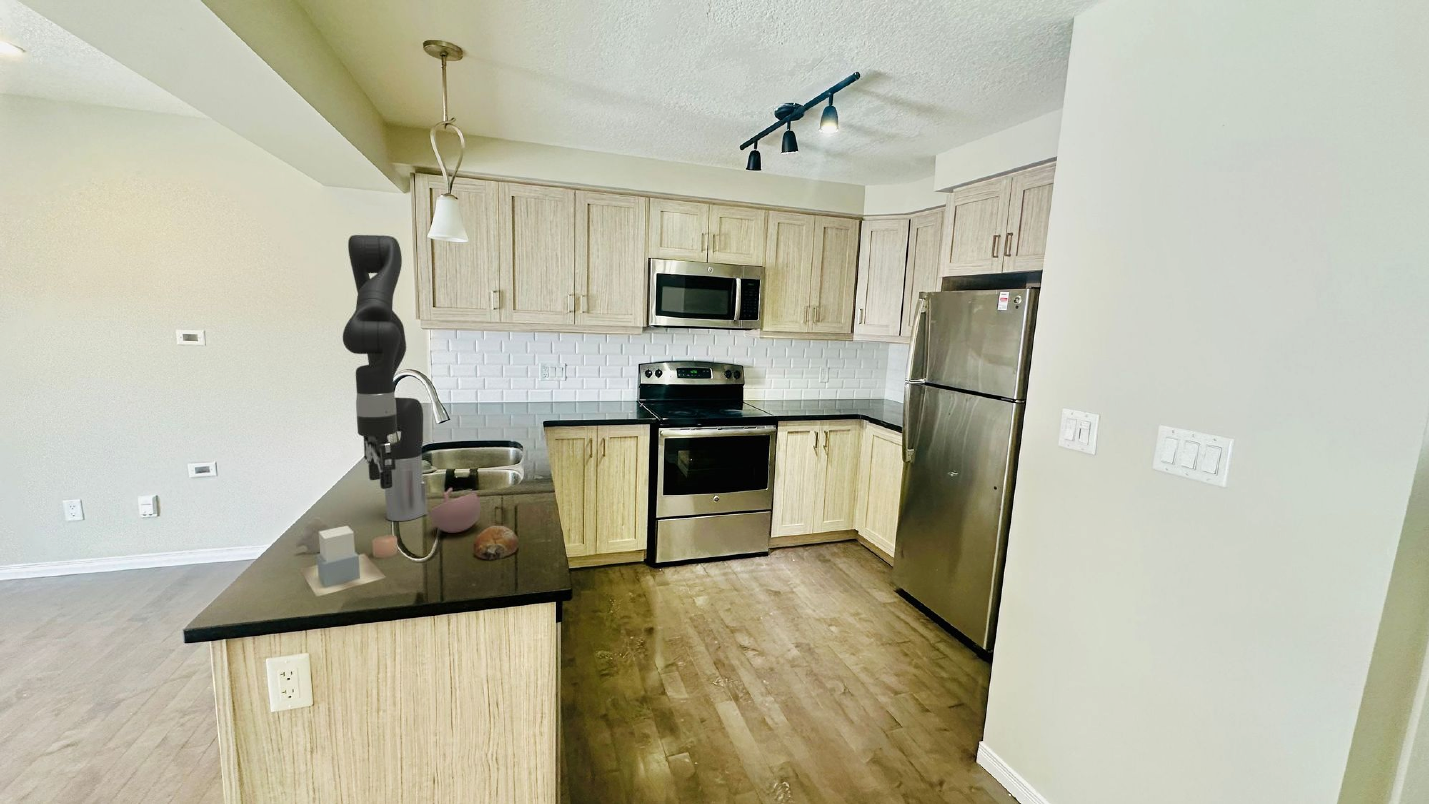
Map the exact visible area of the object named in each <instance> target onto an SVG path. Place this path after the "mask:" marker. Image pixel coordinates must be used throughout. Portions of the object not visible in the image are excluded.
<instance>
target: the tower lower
mask: <svg viewBox="0 0 1429 804" xmlns="http://www.w3.org/2000/svg"><path fill="white" fill-rule="evenodd" d="M358 555H359V554H358V553H357V552H356V551H355V556H352V557H347V558H343V559H339V560H335V561H331V562H327V563H326V562H325V560H324V559H323V558H322V556H321V555H320V553H319V554H316V560H317V565H318V575H319V579H320V580H321V582H322V583H323V585H324V586H325V588H327V587H331V586H334V585H338V584H342V583H345V582H349V581H353V580H357V579H360V569H359V556H358Z"/></svg>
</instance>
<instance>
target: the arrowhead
mask: <svg viewBox="0 0 1429 804" xmlns="http://www.w3.org/2000/svg"><path fill="white" fill-rule="evenodd" d="M329 529H331V527H330V526H329V525H328V524H327V523H326V522H324V521H323V520H322V519H321V518H320V517H319V516H314V517H312V518H311V519H310V520H309V521H308V522H307V523H306V524H305V525H304V527H303V528H302V529H301V532H300V534H299V535H298V537H297V538H296V541H295V544H294V545H295V548H297V549H298V548H299V547H300V548H301V547H302V546H305V547H306V551H305V553H304V554H316V553H320V543H319V531H324V530H329Z"/></svg>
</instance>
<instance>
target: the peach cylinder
mask: <svg viewBox="0 0 1429 804" xmlns="http://www.w3.org/2000/svg"><path fill="white" fill-rule="evenodd" d="M397 554H398V537H397V536H396V535H391V534H389V535H388V534H387V535H386V534H385V535H380V536H378V537H374V538H373V539H372V555H373V557H374V558H376V559H386V558H390V557H393V556H395V555H397Z"/></svg>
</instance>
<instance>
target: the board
mask: <svg viewBox="0 0 1429 804" xmlns="http://www.w3.org/2000/svg"><path fill="white" fill-rule="evenodd" d="M358 556H359V569H360V579H357V580H353V581H349V582H345V583H342V584H338V585H334V586H331V587H327V588H325V586H324V585H323V583H322V582H321V580H320V579H319V575H318V564H316V565H311V566H308V567H304V568H303V567H302V568H300V569H299V570H300V572H301V574H302V575H303V577H304V578H305V580H306V583H308V585H309V587H310V589H311V590H312V591H313V593H314V595H315V596H316V598H319V597H322V596H326V595H329V594H332V593H336V592H339V591H344V590H347V589H351V588H354V587H358V586H361V585H365V584H369V583H373V582H376V581H379V580H384V579H387V577H386V576H385V575H384V573H383V572H382V571H381V570H380V569H379V568H378V567H377V566H376V564H374V562H372V560H371V559H370V558H369V557H368V556H367V555H366V553H361V554H358Z"/></svg>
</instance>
